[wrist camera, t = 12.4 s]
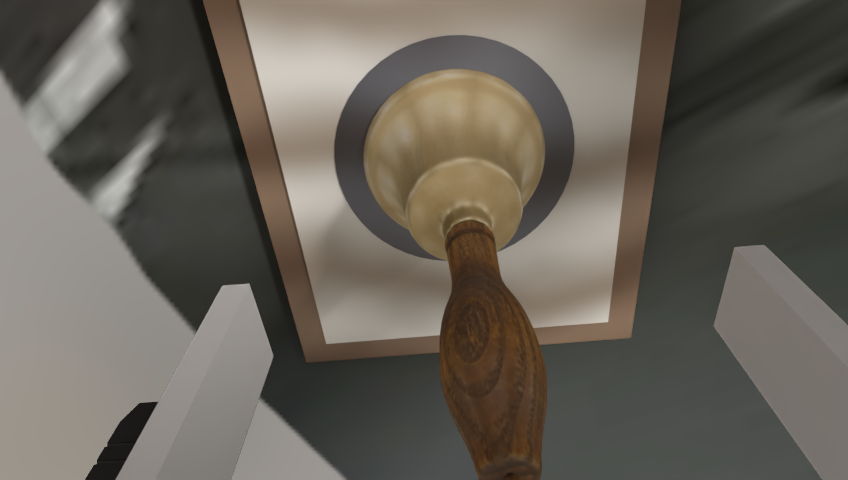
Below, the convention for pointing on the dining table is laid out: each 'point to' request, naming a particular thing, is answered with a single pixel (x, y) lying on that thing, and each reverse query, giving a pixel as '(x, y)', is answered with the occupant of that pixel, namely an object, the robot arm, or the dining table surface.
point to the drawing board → (386, 73)
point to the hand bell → (470, 247)
